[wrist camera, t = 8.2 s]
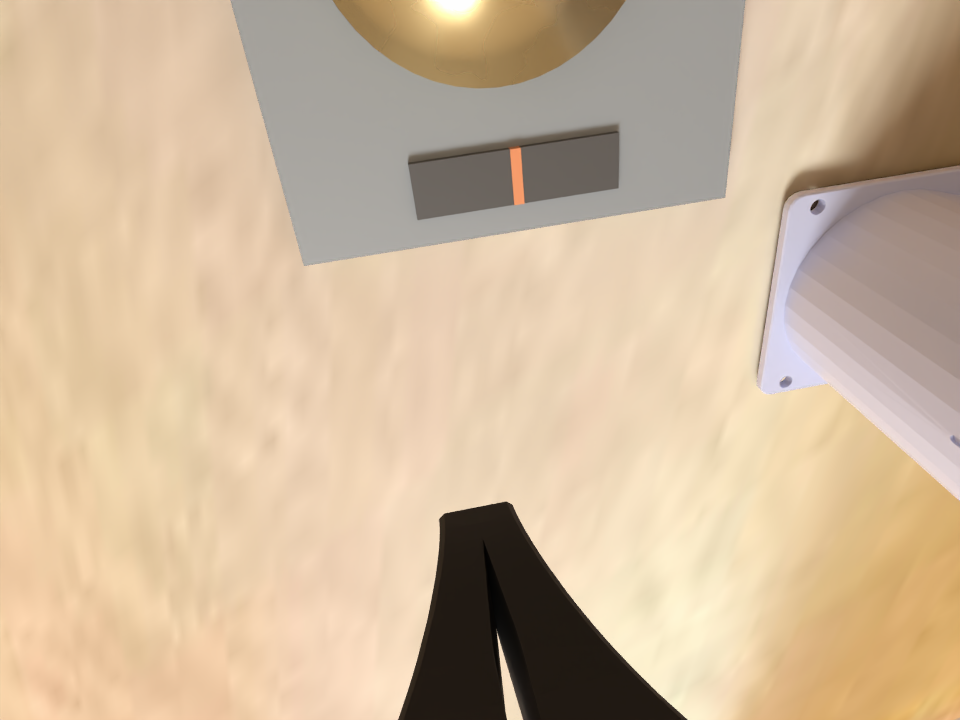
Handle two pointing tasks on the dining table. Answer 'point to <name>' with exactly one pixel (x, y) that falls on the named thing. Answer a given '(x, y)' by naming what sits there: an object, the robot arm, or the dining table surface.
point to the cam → (479, 35)
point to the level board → (490, 128)
